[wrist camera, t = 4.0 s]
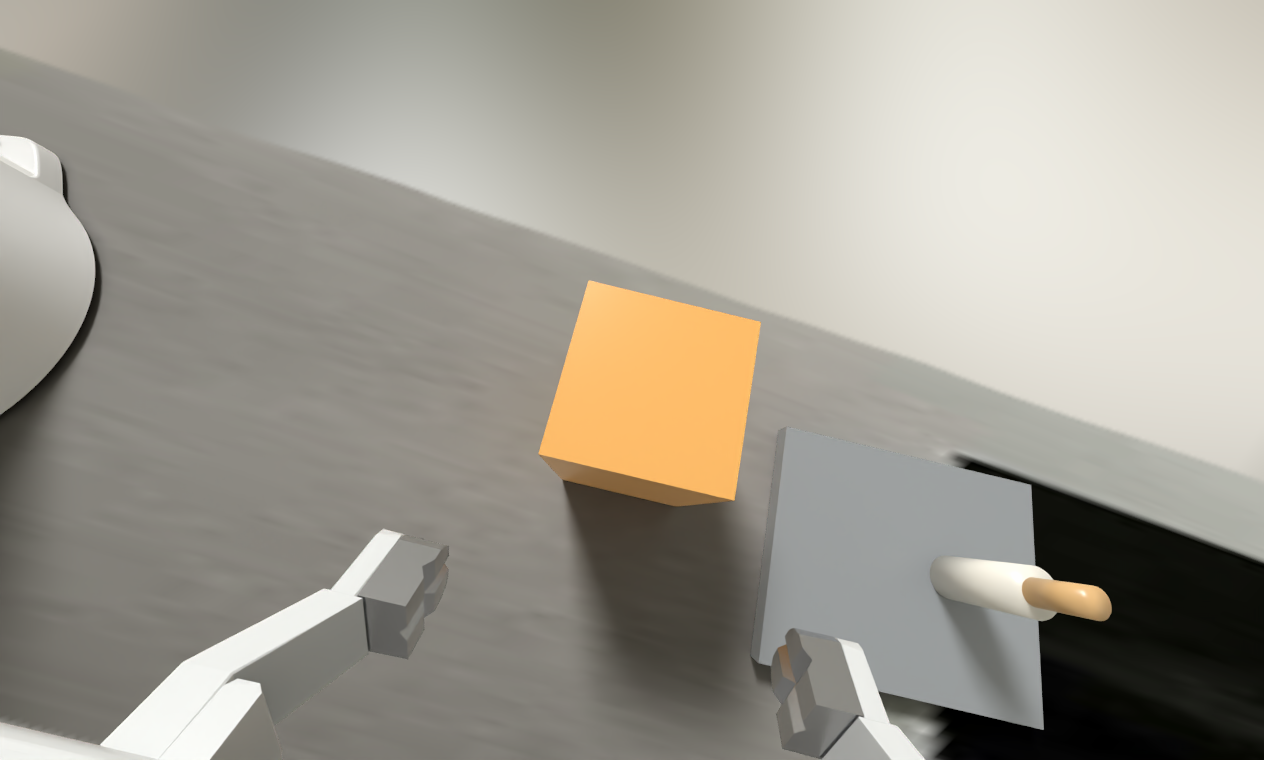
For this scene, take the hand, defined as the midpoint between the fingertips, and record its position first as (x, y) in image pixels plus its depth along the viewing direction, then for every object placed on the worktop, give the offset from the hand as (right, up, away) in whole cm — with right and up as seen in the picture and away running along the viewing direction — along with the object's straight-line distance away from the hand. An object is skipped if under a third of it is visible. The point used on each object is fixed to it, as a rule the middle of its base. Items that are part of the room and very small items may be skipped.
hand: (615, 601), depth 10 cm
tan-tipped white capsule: (+14, -4, +10) cm, 18 cm away
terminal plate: (+12, -3, +10) cm, 16 cm away
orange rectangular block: (0, +2, +11) cm, 11 cm away
